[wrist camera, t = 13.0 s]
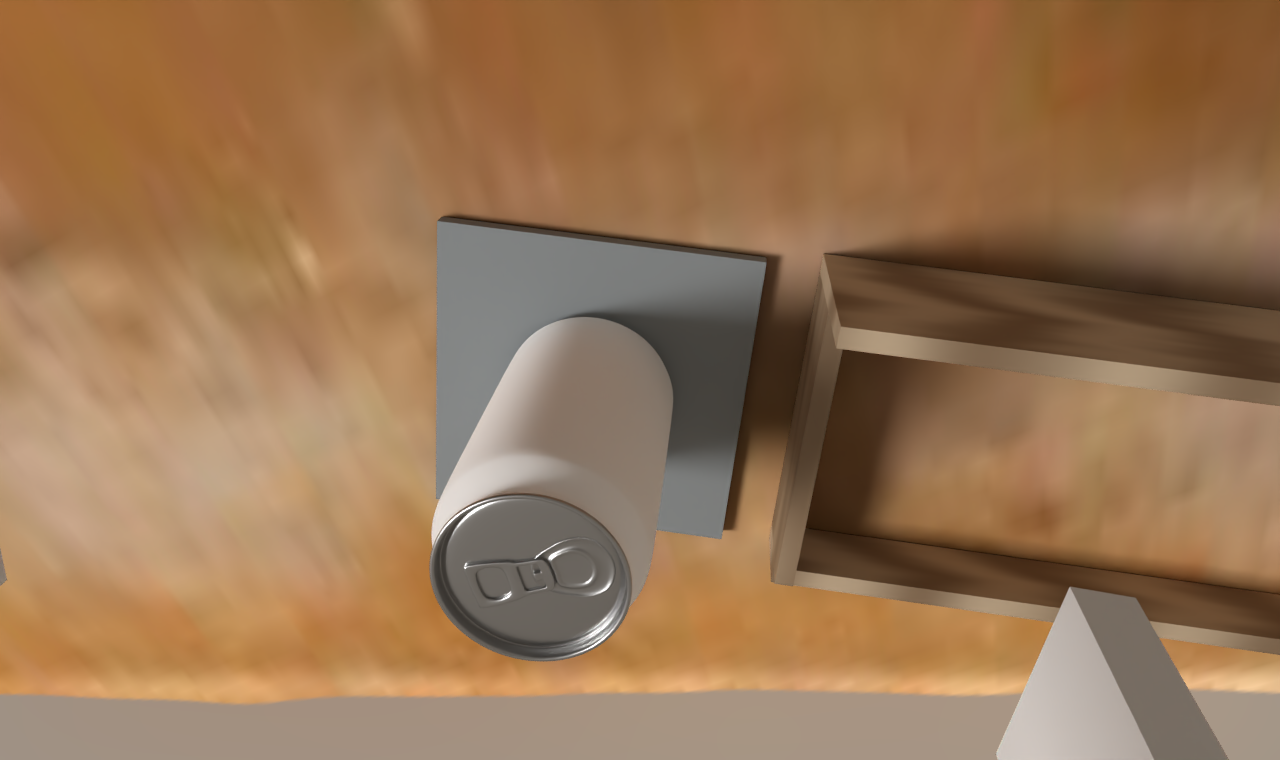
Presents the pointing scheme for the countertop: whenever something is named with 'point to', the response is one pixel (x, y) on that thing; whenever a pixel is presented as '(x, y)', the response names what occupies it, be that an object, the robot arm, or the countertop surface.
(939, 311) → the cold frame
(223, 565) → the countertop surface
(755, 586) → the countertop surface
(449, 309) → the mat
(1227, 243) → the countertop surface
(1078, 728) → the robot arm
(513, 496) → the can
